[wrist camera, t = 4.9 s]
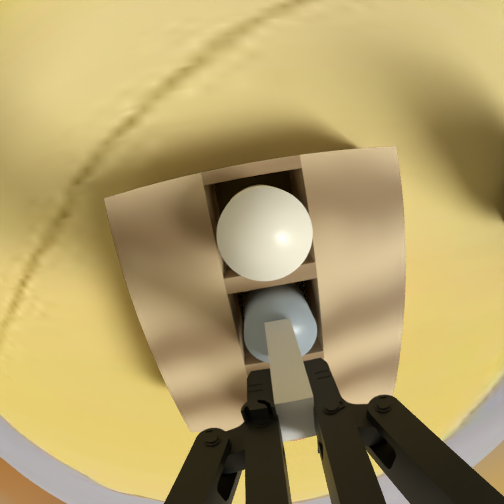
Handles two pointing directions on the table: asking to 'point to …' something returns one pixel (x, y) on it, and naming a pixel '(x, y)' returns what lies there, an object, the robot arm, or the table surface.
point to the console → (230, 283)
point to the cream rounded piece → (264, 233)
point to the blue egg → (277, 317)
